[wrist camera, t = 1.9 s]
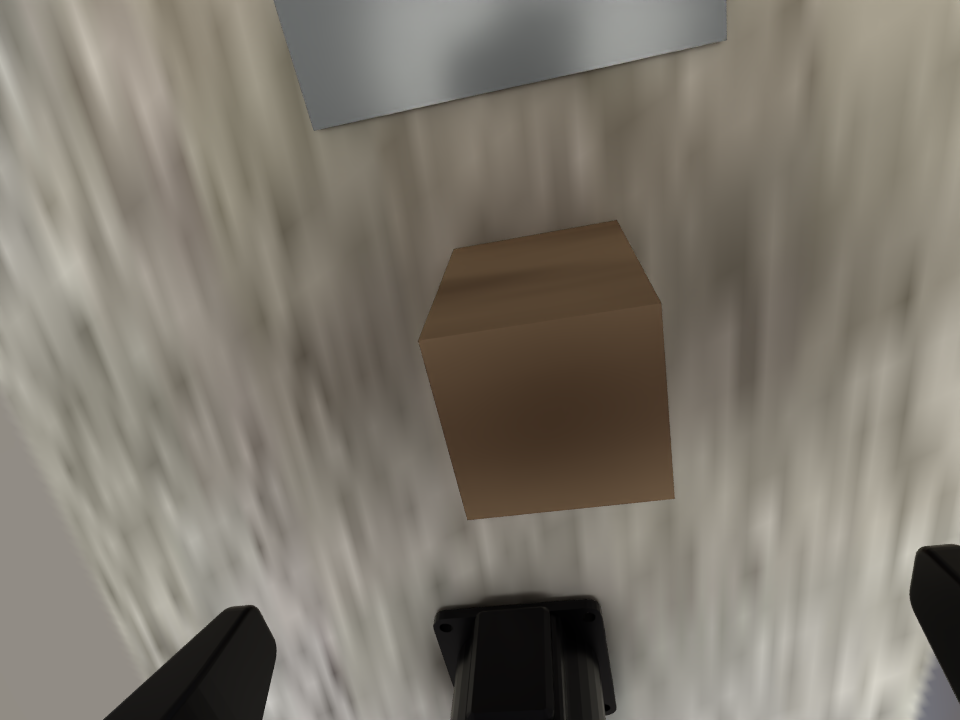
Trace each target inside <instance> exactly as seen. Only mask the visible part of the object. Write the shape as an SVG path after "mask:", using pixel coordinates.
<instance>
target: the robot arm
mask: <svg viewBox="0 0 960 720" xmlns="http://www.w3.org/2000/svg"><path fill="white" fill-rule="evenodd" d="M909 595H910V602H911V606H912V608H913V611H914V613H915V615H916V617H917V619H918V622H919V624H920V626H921V628H922V630H923V632H924V634H925V636H926V638H927V640H928V642H929V644H930V646H931V648H932V650H933V652H934V654H935V656H936V658H937V660H938V662H939V664H940V666H941V668H942V669H943V672H944V674H945V676H946V678H947V680H948V682H949V684H950V686H951V688H952V690H953V692H954V694H955V696H956V698H957V700H958V702H959V704H960V546H959V545H955V544H944V545H933V546H924V547H921V548H920V549H919V550H918V551H917V552H916V556H915V561H914V567H913V573H912V579H911V585H910V593H909ZM433 627H434V631H435V634H436V637H437V640H438V643H439V646H440V649H441V652H442V655H443V657H444V660H445V663H446V666H447V669H448V672H449V675H450V678H451V681H452V683H453V686H454V694H453V702H452V710H451V719H450V720H606V718H605V715H610V714H612V713H614V712H615V711H616V701H615V694H614V688H613V681H612V675H611V669H610V662H609V656H608V649H607V643H606V637H605V630H604V624H603V617H602V611H601V606H600V604H599V603H598V602H596V601H594V600H591V599H583V600H570V601H557V602H545V603H532V604H520V605H507V606H494V607H482V608H469V609H457V610H444V611H440V612H438V613H437V614H436V616H435V619H434V625H433ZM276 652H277V650H276V643H275V639H274V637H273V635H272V633H271V631H270V630H269V628H268V626H267V624H266V622H265V620H264V618H263V616H262V614H261V612H260V611H259V609H258V608H257V607H255V606H254V605H245V606H233V607H229V608H227V609H225V610H224V611H223V612H221V613H220V614H219V615H218V616H217V617H216V618H215V619H214V620H212V621H211V622H210V623H209V624H208V625H207V626H206V627H205V628H204V629H203V630H201V631H200V632H199V633H198V634H197V635H196V636H195V637H194V638H193V639H192V640H190V641H189V642H188V643H187V644H186V645H185V646H184V647H183V648H182V649H180V650H179V651H178V652H177V653H176V654H175V655H174V656H173V657H172V658H171V659H169V660H168V661H167V662H166V663H165V664H164V665H163V666H162V667H161V668H160V669H158V670H157V671H156V672H155V673H154V674H153V675H152V676H151V677H150V678H149V679H147V680H146V681H145V682H144V683H143V684H142V685H141V686H140V687H139V688H138V689H136V690H135V691H134V692H133V693H132V694H131V695H130V696H129V697H128V698H126V699H125V700H124V701H123V702H122V703H121V704H120V705H119V706H118V707H117V708H116V709H114V710H113V711H112V712H111V713H110V714H109V715H108V716H107V717H106V718H104V719H103V720H262V719H263V714H264V710H265V705H266V701H267V696H268V692H269V687H270V683H271V678H272V674H273V669H274V665H275V660H276Z"/></svg>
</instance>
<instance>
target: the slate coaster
mask: <svg viewBox="0 0 960 720" xmlns="http://www.w3.org/2000/svg"><path fill="white" fill-rule="evenodd" d="M274 3H275V7H276V10H277V13H278V16H279V20H280V23H281V26H282V29H283V33H284V36H285V39H286V42H287V45H288V49H289V52H290V55H291V58H292V62H293V65H294V68H295V71H296V75H297V78H298V81H299V84H300V88H301V91H302V94H303V97H304V101H305V104H306V107H307V110H308V114H309V117H310V120H311V123H312V127H313V130H314V131H315V130H319V129H324V128H328V127H333V126H338V125H342V124H347V123H351V122H356V121H360V120H365V119H369V118H374V117H379V116H383V115H388V114H392V113H397V112H401V111H406V110H410V109H415V108H420V107H424V106H429V105H433V104H438V103H442V102H447V101H452V100H456V99H461V98H465V97H470V96H474V95H479V94H483V93H488V92H493V91H497V90H502V89H506V88H511V87H515V86H520V85H524V84H529V83H534V82H538V81H543V80H547V79H552V78H556V77H561V76H565V75H570V74H575V73H579V72H584V71H588V70H593V69H597V68H602V67H606V66H611V65H616V64H620V63H625V62H629V61H634V60H638V59H643V58H647V57H652V56H657V55H661V54H666V53H670V52H675V51H679V50H684V49H688V48H693V47H698V46H702V45H707V44H711V43H716V42H720V41H725V40H727V18H726V0H274Z"/></svg>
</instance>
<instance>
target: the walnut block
mask: <svg viewBox="0 0 960 720" xmlns="http://www.w3.org/2000/svg"><path fill="white" fill-rule="evenodd" d="M418 342H419V346H420V349H421V353H422V357H423V360H424V364H425V367H426V371H427V375H428V378H429V382H430V386H431V389H432V393H433V397H434V400H435V404H436V407H437V411H438V415H439V418H440V422H441V426H442V429H443V433H444V437H445V440H446V444H447V447H448V451H449V455H450V458H451V462H452V466H453V469H454V473H455V477H456V480H457V484H458V487H459V491H460V495H461V498H462V502H463V506H464V509H465V513H466V517H467V520H474V519H483V518H493V517H503V516H512V515H522V514H532V513H541V512H551V511H561V510H570V509H580V508H590V507H599V506H609V505H619V504H628V503H638V502H648V501H658V500H667V499H675V497H674V482H673V467H672V453H671V438H670V424H669V409H668V394H667V380H666V365H665V350H664V336H663V321H662V307H661V302H660V300H659V298H658V296H657V294H656V292H655V291H654V289H653V287H652V285H651V283H650V281H649V279H648V278H647V276H646V274H645V272H644V270H643V268H642V266H641V264H640V263H639V261H638V259H637V257H636V255H635V253H634V251H633V250H632V248H631V246H630V244H629V242H628V240H627V238H626V236H625V235H624V233H623V231H622V229H621V227H620V225H619V223H618V222H617V220H614V221H609V222H603V223H598V224H592V225H586V226H581V227H575V228H570V229H564V230H558V231H553V232H547V233H542V234H536V235H530V236H525V237H519V238H513V239H508V240H502V241H497V242H491V243H485V244H480V245H474V246H469V247H463V248H457V249H454V250H453V253H452V255H451V258H450V260H449V263H448V266H447V268H446V271H445V273H444V276H443V278H442V281H441V283H440V286H439V289H438V291H437V294H436V296H435V299H434V301H433V304H432V307H431V309H430V312H429V314H428V317H427V319H426V322H425V325H424V327H423V330H422V332H421V335H420V337H419V340H418Z"/></svg>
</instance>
